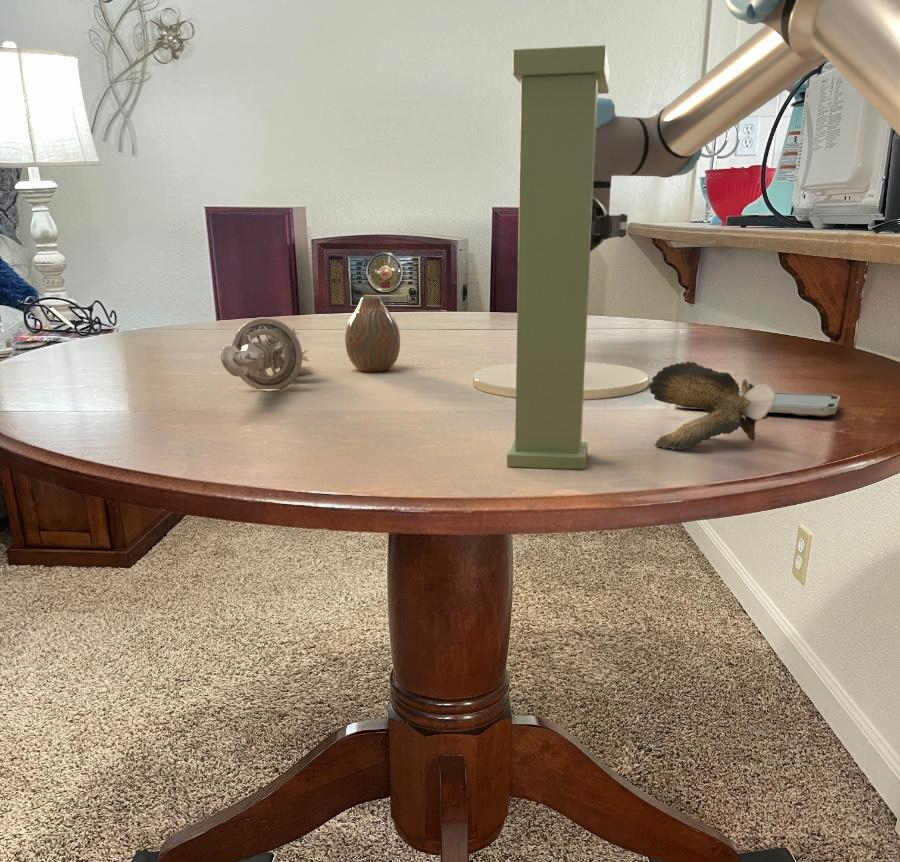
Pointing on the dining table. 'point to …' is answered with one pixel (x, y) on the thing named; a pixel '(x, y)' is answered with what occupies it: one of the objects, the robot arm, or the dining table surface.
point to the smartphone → (802, 404)
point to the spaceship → (264, 354)
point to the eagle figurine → (709, 403)
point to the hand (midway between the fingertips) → (566, 228)
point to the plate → (596, 380)
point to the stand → (554, 249)
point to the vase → (372, 336)
